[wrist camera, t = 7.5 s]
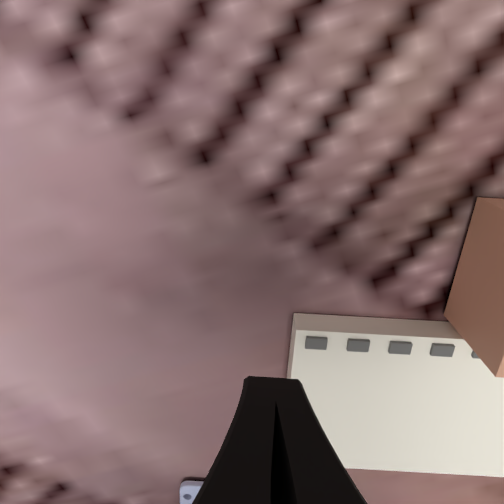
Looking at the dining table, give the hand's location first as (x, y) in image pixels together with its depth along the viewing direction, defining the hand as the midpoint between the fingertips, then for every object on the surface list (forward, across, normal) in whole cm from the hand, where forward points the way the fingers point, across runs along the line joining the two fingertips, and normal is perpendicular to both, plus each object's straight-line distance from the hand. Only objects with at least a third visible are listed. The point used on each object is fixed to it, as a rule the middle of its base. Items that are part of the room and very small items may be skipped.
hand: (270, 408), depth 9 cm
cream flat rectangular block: (+9, -11, +7) cm, 16 cm away
